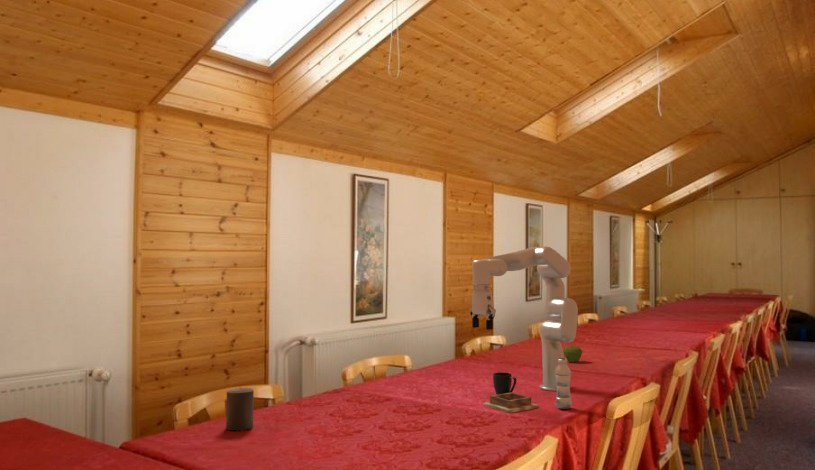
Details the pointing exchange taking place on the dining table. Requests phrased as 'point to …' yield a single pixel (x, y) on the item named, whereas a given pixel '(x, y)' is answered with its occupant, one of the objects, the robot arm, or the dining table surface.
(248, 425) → the dark grey cylinder
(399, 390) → the dining table surface
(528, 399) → the bottle stand
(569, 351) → the apple
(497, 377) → the mug
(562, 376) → the plastic bottle
